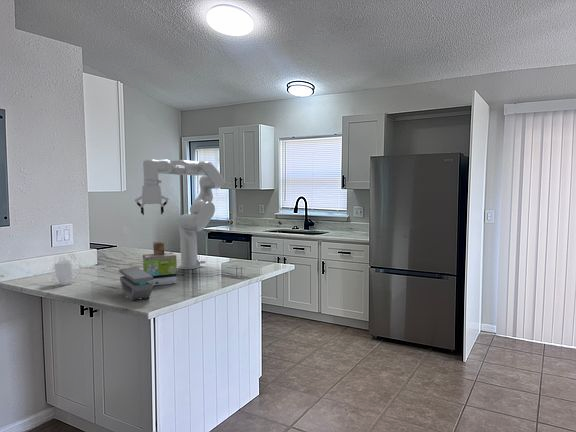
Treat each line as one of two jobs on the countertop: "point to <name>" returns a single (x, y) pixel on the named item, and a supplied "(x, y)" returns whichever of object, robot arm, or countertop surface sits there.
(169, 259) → the tea box
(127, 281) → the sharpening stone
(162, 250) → the walnut block
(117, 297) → the countertop surface
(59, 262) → the mug
